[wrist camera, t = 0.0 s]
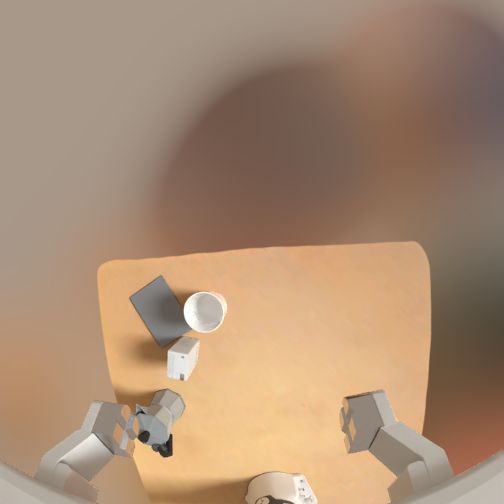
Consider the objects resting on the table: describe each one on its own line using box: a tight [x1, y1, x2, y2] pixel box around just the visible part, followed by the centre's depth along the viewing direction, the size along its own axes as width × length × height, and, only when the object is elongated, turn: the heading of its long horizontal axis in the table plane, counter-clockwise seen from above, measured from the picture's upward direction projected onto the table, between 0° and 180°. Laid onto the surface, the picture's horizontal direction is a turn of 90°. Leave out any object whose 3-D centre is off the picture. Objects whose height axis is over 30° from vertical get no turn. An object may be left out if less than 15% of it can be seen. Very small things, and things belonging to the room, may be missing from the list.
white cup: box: [184, 291, 227, 333], centre depth 59 cm, size 8×8×10 cm
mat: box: [130, 275, 192, 348], centre depth 64 cm, size 14×10×1 cm
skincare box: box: [167, 336, 200, 381], centre depth 57 cm, size 6×4×12 cm
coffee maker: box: [135, 389, 186, 457], centre depth 53 cm, size 15×9×18 cm, turn 21°
